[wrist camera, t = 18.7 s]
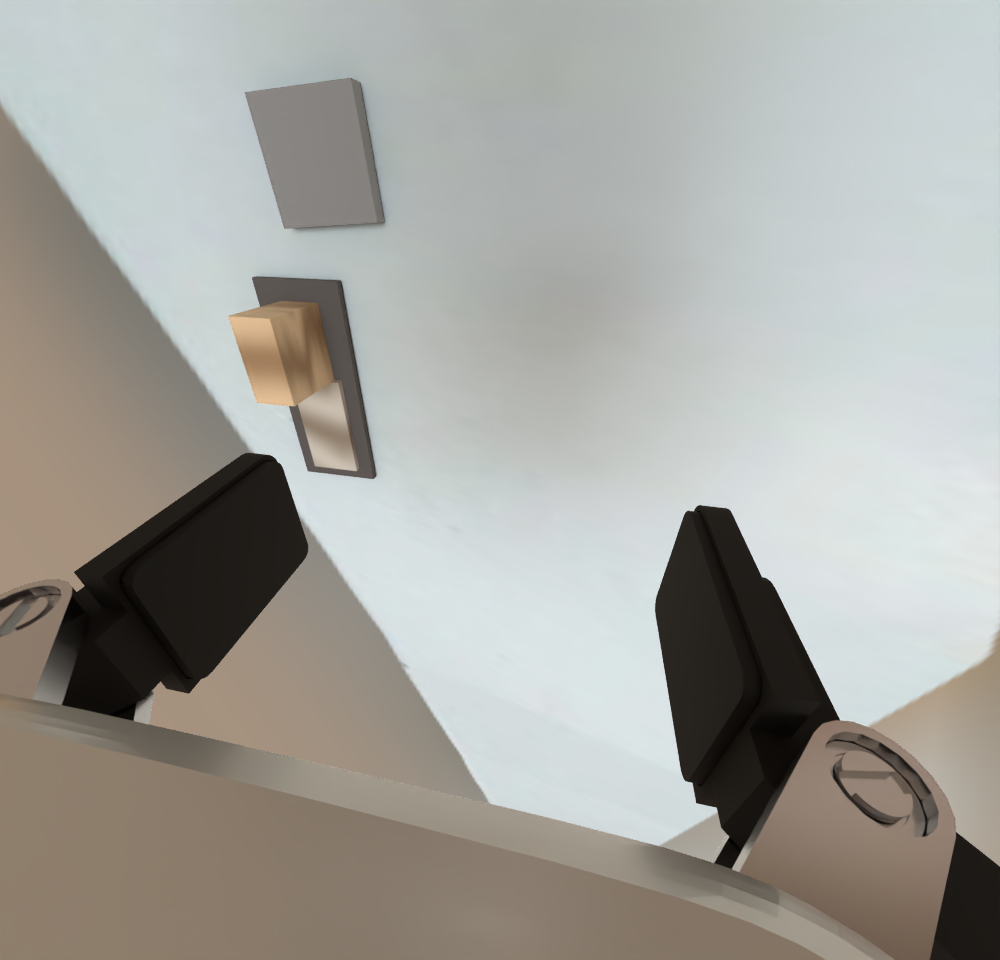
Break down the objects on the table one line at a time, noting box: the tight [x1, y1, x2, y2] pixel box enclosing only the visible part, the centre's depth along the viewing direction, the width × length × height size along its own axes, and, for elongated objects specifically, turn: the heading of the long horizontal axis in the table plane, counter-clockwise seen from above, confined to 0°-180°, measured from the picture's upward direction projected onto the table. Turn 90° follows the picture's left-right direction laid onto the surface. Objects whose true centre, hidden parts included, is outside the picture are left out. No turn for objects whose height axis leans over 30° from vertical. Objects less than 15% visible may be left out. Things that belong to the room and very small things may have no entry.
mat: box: [252, 277, 376, 479], centre depth 41 cm, size 20×8×1 cm, turn 179°
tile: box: [245, 78, 384, 229], centre depth 30 cm, size 8×2×8 cm
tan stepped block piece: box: [228, 301, 359, 471], centre depth 38 cm, size 17×5×6 cm, turn 179°
